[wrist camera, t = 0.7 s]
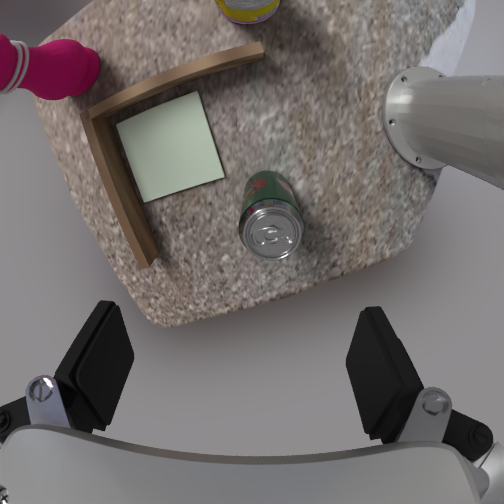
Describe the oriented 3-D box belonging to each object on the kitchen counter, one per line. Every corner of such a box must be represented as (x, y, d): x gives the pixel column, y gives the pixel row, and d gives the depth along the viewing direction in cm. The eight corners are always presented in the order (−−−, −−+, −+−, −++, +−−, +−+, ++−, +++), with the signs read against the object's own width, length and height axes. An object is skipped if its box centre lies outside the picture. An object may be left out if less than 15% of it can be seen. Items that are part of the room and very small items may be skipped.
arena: (260, 50, 25) (260, 41, 21) (304, 213, 33) (310, 226, 29) (97, 112, 27) (79, 114, 24) (151, 253, 36) (141, 269, 32)
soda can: (294, 206, 33) (312, 256, 22) (251, 217, 33) (248, 272, 23) (283, 164, 31) (298, 194, 20) (238, 176, 31) (228, 212, 21)
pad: (197, 91, 27) (197, 90, 26) (225, 176, 31) (224, 177, 31) (117, 124, 28) (115, 124, 28) (145, 201, 33) (144, 202, 32)
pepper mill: (50, 74, 24) (-74, 84, 7) (87, 33, 23) (-36, 8, 5) (74, 110, 27) (-58, 138, 9) (114, 69, 25) (-20, 55, 7)
